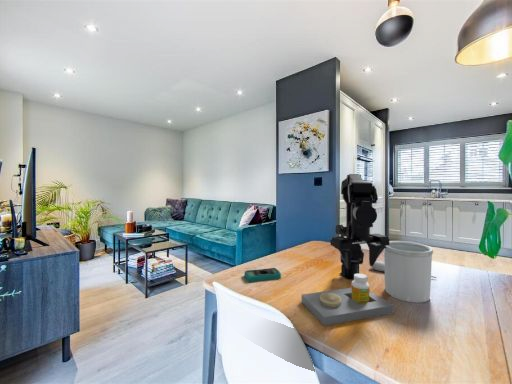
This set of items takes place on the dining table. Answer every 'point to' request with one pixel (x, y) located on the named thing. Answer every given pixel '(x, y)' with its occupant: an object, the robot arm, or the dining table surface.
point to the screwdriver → (382, 267)
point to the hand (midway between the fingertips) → (359, 267)
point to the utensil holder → (408, 271)
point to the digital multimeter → (262, 274)
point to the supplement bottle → (360, 289)
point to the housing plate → (344, 306)
